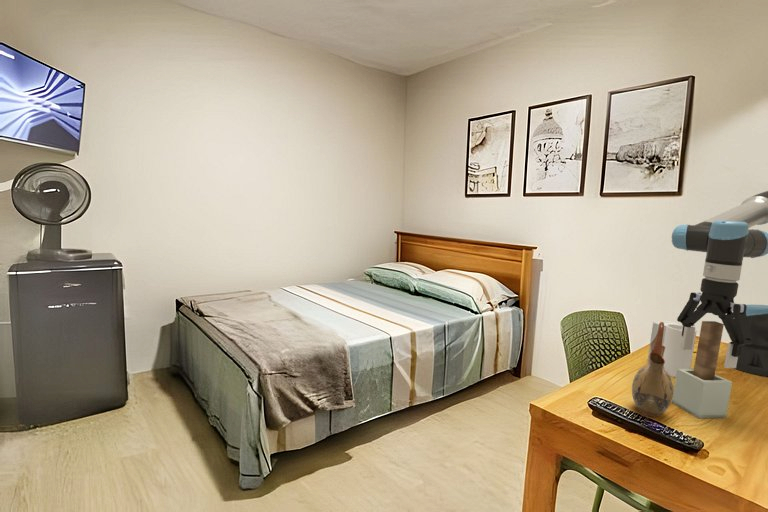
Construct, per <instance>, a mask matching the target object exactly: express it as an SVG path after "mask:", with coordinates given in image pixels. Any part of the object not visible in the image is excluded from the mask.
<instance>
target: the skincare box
mask: <svg viewBox="0 0 768 512" xmlns="http://www.w3.org/2000/svg"><path fill="white" fill-rule="evenodd" d="M660 322H661V321H656V322H654V321H653V322H652V328H651V333H650V341H649V348H648V354H647V361H648V362H649V355H650V353H651V343H652V341H653V340H654V338H655V337H656V335H657V332H658V328H659V323H660ZM662 322H663V323H664V332H663V340H662V346H663V344H664V338H665V331H666V325H667V324H679V323H676V322H674V321H670V320H669V321H662ZM679 325H681V324H679Z"/></svg>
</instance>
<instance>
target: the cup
mask: <svg viewBox="0 0 768 512" xmlns="http://www.w3.org/2000/svg"><path fill="white" fill-rule="evenodd" d="M682 330H683V325H682V324H680V325H679V323H677V324H667V325H666V331H665V338H664V344H663V346H664V347H665V350H664V355H663V358H664V360H665V364H664V369H665V371H666V372H667V373H668V374H669V376H670V377H673V378H676V374H677V369H692V363H693V362H692V361H693V355H694V349H695V345H696V344H695V343H696V338H697V337H696V336H697V328H695V333H694V339H693V345H692V350H683V349H681V346H682V340H683V336H682Z"/></svg>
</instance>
